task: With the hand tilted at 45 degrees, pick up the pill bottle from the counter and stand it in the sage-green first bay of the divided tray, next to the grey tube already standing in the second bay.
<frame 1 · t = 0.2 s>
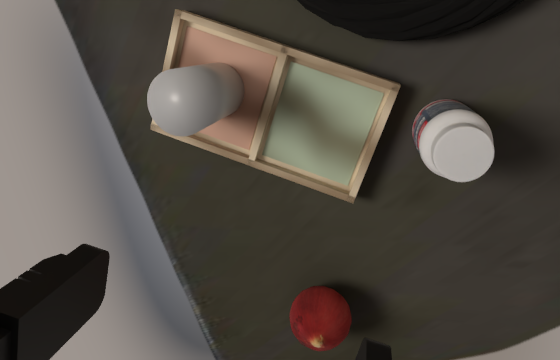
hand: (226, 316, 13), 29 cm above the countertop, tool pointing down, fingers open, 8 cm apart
divided tray: (272, 105, 41), on the countertop
grey tube: (218, 89, 40), point 1 cm above the countertop, touching divided tray
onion: (323, 295, 46), on the countertop
pill bottle: (442, 128, 39), on the countertop
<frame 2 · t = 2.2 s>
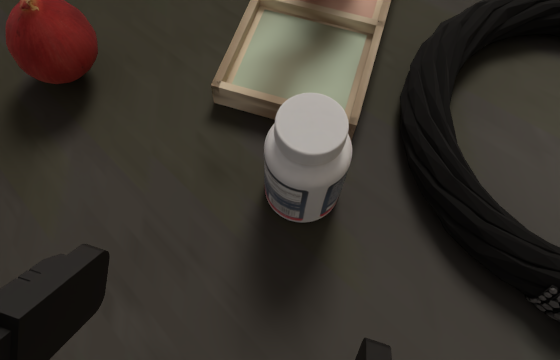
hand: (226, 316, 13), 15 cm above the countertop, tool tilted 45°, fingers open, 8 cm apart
divided tray: (315, 27, 38), on the countertop
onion: (74, 76, 35), on the countertop
pill bottle: (300, 190, 32), on the countertop
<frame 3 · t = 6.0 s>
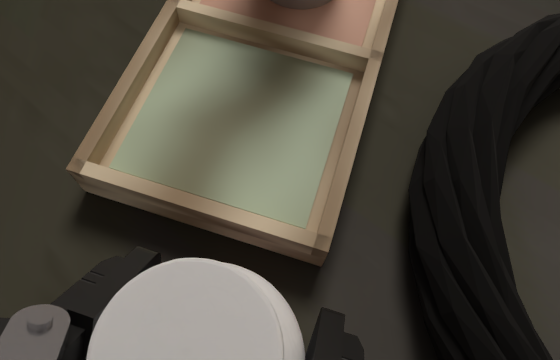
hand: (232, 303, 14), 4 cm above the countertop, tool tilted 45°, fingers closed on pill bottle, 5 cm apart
divided tray: (271, 58, 23), on the countertop
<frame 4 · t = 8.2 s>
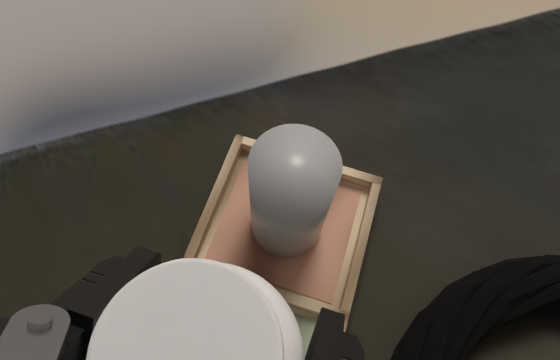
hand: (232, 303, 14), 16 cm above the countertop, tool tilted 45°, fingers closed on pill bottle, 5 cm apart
divided tray: (263, 295, 29), on the countertop
grey tube: (286, 224, 30), point 1 cm above the countertop, touching divided tray
when the fingers open (7 cm above the countertop, at t = 10.3 s): pill bottle drops 1 cm, resting on divided tray.
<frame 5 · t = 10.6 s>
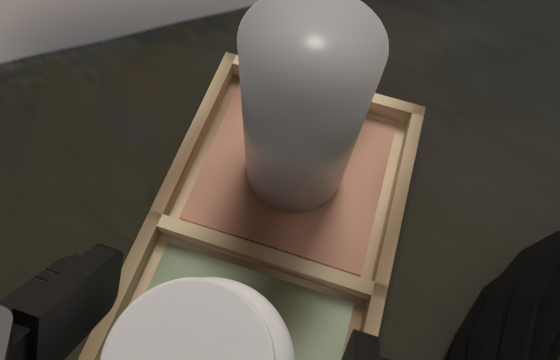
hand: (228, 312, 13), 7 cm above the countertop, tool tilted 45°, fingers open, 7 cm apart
divided tray: (263, 266, 21), on the countertop
grey tube: (294, 168, 22), point 1 cm above the countertop, touching divided tray
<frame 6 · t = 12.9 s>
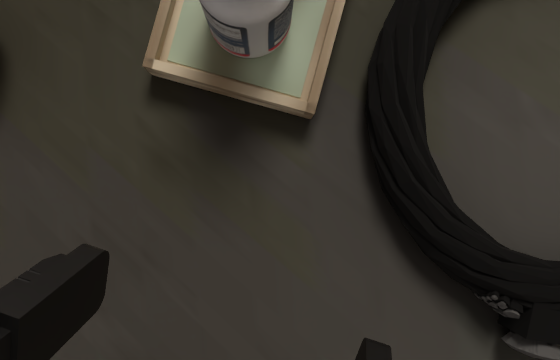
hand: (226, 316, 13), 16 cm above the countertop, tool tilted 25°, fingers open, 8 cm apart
cable lock: (551, 129, 31), on the countertop
pill bottle: (249, 20, 28), point 1 cm above the countertop, touching divided tray
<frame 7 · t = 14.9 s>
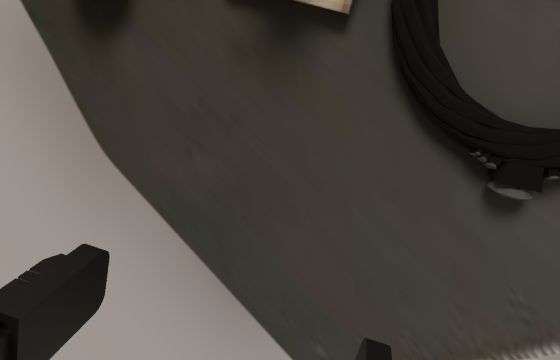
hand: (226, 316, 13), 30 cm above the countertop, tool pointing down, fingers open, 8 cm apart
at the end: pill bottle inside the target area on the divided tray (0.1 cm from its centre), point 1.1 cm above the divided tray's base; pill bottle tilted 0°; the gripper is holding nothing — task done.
